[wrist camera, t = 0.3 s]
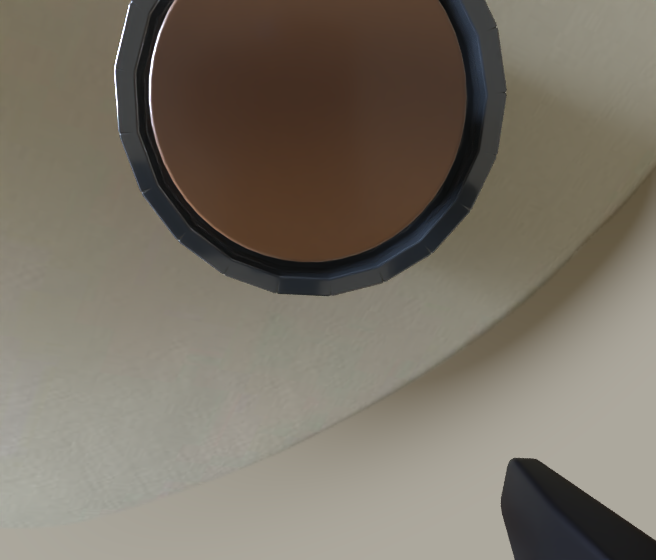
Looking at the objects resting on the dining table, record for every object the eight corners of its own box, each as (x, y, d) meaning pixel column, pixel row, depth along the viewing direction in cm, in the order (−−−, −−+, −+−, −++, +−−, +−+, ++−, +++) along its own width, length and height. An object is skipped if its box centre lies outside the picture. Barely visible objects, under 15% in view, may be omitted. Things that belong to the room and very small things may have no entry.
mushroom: (398, 214, 14) (446, 270, 9) (217, 205, 14) (155, 255, 9) (418, 13, 13) (490, -65, 7) (214, -1, 13) (137, -91, 7)
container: (412, 231, 22) (474, 303, 13) (205, 220, 21) (128, 287, 13) (438, -1, 19) (538, -103, 10) (200, -17, 19) (98, -136, 10)
